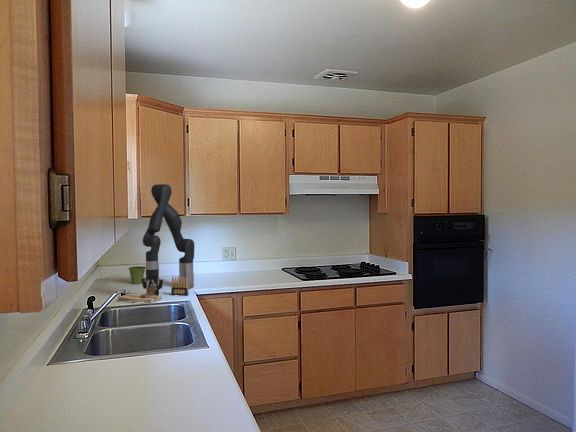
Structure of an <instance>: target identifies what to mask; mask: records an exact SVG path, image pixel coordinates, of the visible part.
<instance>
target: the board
mask: <svg viewBox="0 0 576 432" xmlns="http://www.w3.org/2000/svg"><path fill="white" fill-rule="evenodd" d="M142 294H143V293H142ZM142 294H141V293H140V294H139V293H127V294H124V295H122V296H118V297H117V299H118V300H117V301H118V302H119V301H132V302H144V303H152V304H154V303H153V302H155V301H157V300H159V301H161V300H162V295H158V296H157V295H150V296H148V297H145V298H144V297H141V295H142ZM160 299H161V300H160ZM157 302H158V301H157ZM144 303H143V304H144ZM155 303H156V302H155Z"/></svg>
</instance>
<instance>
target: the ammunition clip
mask: <svg viewBox="0 0 576 432" xmlns="http://www.w3.org/2000/svg"><path fill="white" fill-rule="evenodd" d="M170 293H171V296H175V295H178V296H179V297H182V296H183V297H188V296H189V289H188V281H187V277H186V280H185V278H184V277H183V283H182V277H181V278H180V281H179V275H178V276H176V275H175V276H172V277H171V292H170Z"/></svg>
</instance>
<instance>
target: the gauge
mask: <svg viewBox="0 0 576 432" xmlns="http://www.w3.org/2000/svg"><path fill="white" fill-rule="evenodd" d="M150 295H155V287H154V286H153V285H151V286H149V287H147V290H146V292H145V293H142V295H141V297H144V298H145V297H148V296H150Z"/></svg>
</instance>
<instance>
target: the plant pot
mask: <svg viewBox="0 0 576 432" xmlns="http://www.w3.org/2000/svg"><path fill="white" fill-rule="evenodd" d="M128 271H129V275H130V281H131V284H133V285H140V284H142V279H144V276H145V272H146V266H143V265H142V266H130V267H128Z"/></svg>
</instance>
